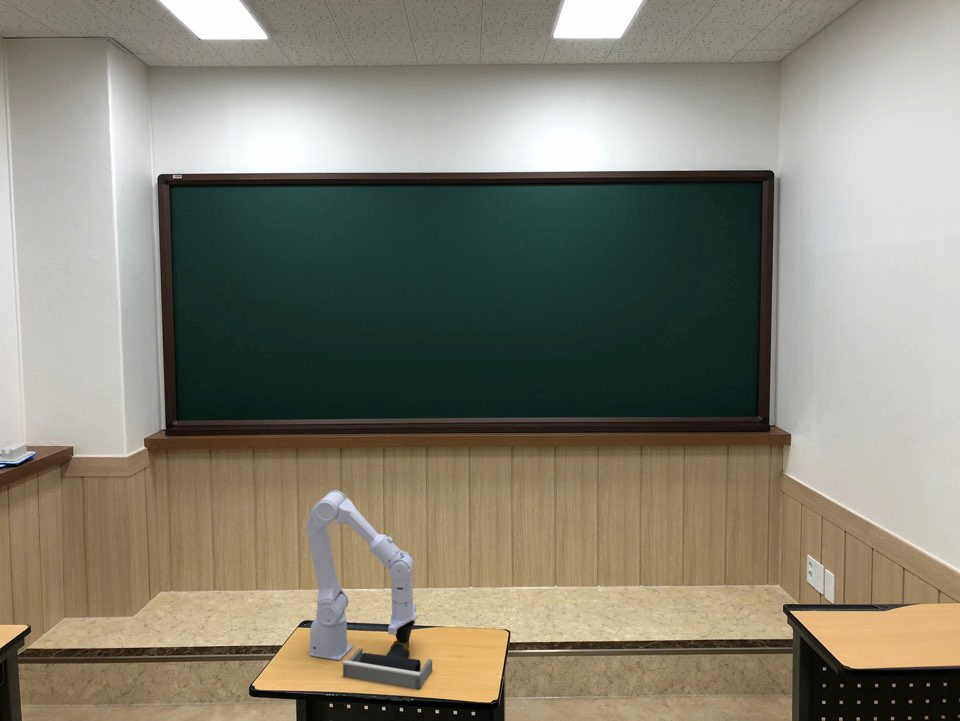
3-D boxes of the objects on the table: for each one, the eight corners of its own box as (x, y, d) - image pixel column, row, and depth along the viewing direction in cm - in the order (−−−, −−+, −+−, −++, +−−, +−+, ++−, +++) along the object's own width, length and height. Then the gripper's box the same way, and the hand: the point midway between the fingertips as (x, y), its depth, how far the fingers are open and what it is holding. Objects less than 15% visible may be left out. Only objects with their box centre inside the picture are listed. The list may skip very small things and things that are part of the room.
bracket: (343, 676, 171) (342, 662, 171) (359, 658, 180) (359, 644, 180) (419, 689, 165) (418, 674, 165) (432, 670, 174) (432, 656, 174)
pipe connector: (376, 636, 182) (428, 642, 178) (376, 654, 183) (428, 661, 179) (358, 658, 171) (413, 665, 167) (359, 678, 172) (414, 685, 168)
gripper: (405, 613, 173) (406, 663, 174) (425, 590, 187) (426, 636, 188) (380, 609, 175) (381, 659, 176) (402, 587, 189) (403, 633, 190)
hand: (403, 647), depth 182 cm, fingers closed
